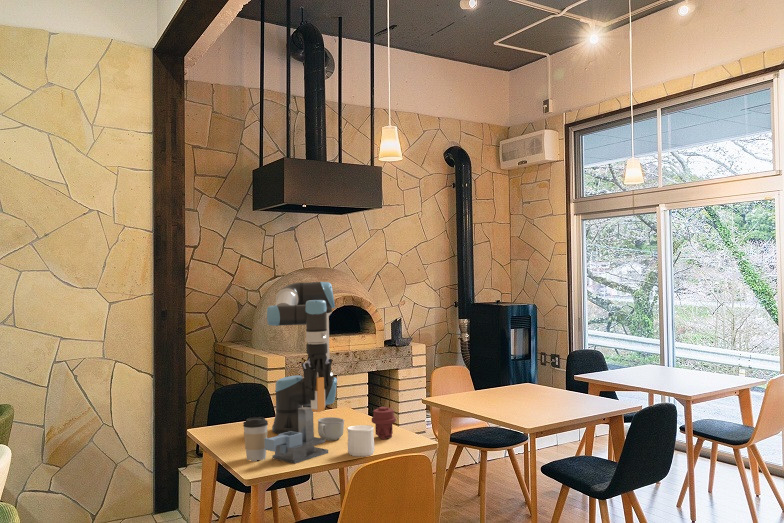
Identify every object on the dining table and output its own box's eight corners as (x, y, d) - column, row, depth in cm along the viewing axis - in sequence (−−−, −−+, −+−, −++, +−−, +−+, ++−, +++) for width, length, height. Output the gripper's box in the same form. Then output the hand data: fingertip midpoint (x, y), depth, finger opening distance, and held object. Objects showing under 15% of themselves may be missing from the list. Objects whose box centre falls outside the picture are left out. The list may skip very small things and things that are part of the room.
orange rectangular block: (312, 411, 230) (311, 377, 230) (318, 409, 233) (317, 376, 233) (318, 412, 228) (317, 378, 228) (324, 410, 231) (323, 377, 231)
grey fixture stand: (272, 458, 236) (271, 411, 236) (306, 448, 249) (305, 404, 250) (294, 463, 228) (293, 415, 229) (328, 452, 242) (327, 407, 242)
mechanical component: (398, 435, 267) (393, 441, 257) (375, 434, 269) (369, 440, 259) (397, 405, 267) (392, 410, 257) (374, 405, 269) (368, 409, 259)
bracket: (263, 455, 229) (263, 438, 229) (291, 447, 239) (290, 430, 240) (275, 458, 225) (274, 440, 226) (302, 450, 235) (302, 433, 236)
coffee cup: (245, 455, 241) (244, 415, 241) (270, 454, 241) (269, 414, 242) (242, 462, 232) (241, 421, 232) (267, 461, 232) (266, 420, 233)
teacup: (330, 434, 271) (329, 415, 271) (349, 437, 264) (349, 418, 264) (307, 441, 259) (307, 422, 259) (327, 445, 253) (327, 425, 253)
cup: (377, 455, 237) (376, 429, 237) (351, 458, 234) (350, 431, 234) (371, 449, 246) (370, 423, 246) (345, 451, 243) (345, 426, 243)
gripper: (307, 345, 222) (309, 413, 222) (339, 341, 235) (341, 405, 234) (292, 344, 227) (294, 410, 227) (325, 340, 240) (326, 402, 239)
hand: (318, 407), depth 230 cm, fingers closed on orange rectangular block, 3 cm apart
